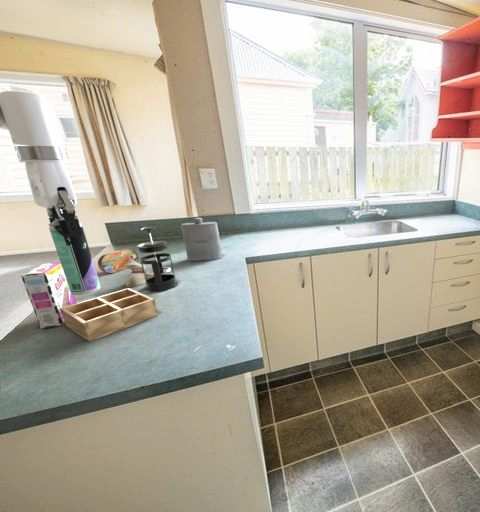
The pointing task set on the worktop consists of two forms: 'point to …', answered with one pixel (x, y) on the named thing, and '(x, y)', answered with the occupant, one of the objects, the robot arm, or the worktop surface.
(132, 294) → the tray
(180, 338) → the worktop surface
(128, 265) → the chocolate bunny
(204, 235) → the flask
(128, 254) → the tin
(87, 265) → the spray can
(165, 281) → the french press
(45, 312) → the candy bar box
